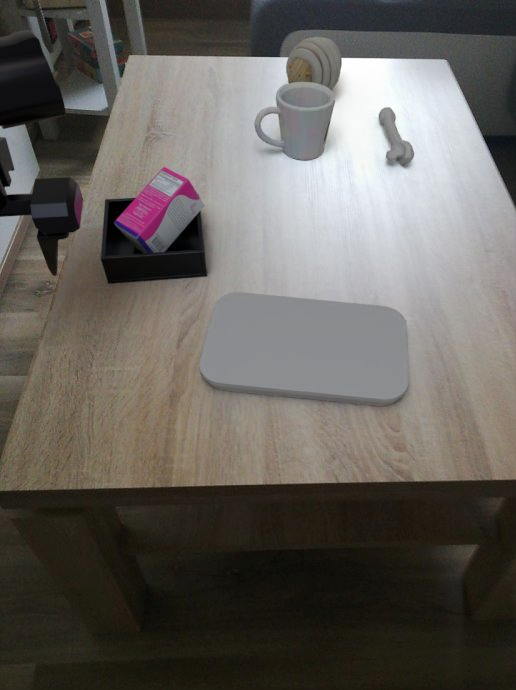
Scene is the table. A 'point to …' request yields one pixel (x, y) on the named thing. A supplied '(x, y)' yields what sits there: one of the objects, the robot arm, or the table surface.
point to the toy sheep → (315, 62)
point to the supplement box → (160, 212)
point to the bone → (395, 139)
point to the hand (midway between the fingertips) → (11, 276)
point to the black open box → (137, 266)
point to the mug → (300, 119)
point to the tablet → (306, 349)
